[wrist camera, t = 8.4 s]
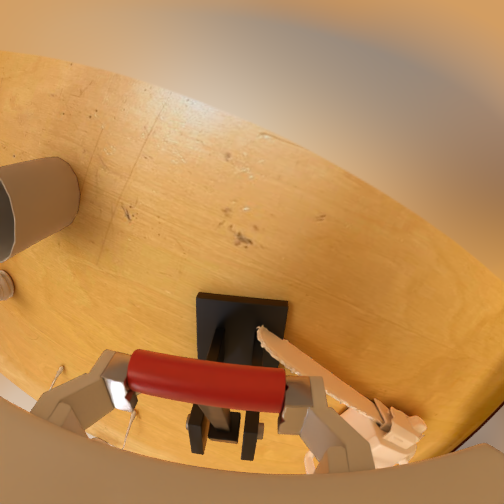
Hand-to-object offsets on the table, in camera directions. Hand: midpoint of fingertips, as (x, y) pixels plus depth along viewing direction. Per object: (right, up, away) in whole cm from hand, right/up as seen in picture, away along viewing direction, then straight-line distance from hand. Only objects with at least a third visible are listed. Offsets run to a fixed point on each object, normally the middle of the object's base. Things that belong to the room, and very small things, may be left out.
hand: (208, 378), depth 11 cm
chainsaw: (+12, -16, +24) cm, 32 cm away
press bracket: (0, -5, +21) cm, 22 cm away
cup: (-20, +11, +17) cm, 29 cm away
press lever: (0, -4, +5) cm, 7 cm away
